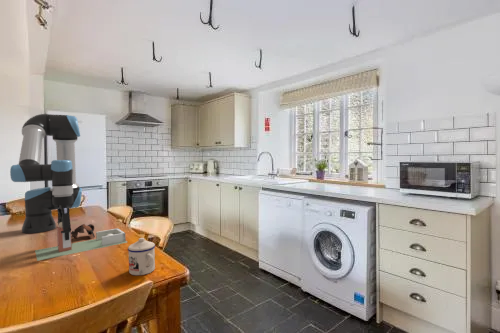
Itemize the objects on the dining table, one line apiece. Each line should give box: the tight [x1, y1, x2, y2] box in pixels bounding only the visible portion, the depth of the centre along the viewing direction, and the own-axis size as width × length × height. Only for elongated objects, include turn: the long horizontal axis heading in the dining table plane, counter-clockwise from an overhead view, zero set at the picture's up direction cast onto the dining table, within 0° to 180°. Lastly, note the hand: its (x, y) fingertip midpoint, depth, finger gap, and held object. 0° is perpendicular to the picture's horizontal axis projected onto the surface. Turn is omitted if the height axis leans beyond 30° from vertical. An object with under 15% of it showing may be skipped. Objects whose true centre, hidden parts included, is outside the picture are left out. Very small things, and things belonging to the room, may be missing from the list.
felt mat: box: [34, 238, 128, 262], centre depth 125 cm, size 16×34×1 cm, turn 131°
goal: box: [95, 228, 127, 246], centre depth 132 cm, size 12×10×4 cm
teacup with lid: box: [127, 237, 156, 276], centre depth 97 cm, size 12×9×12 cm
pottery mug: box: [71, 223, 96, 240], centre depth 138 cm, size 12×10×8 cm
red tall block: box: [56, 222, 72, 252], centre depth 120 cm, size 4×4×12 cm
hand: (64, 243), depth 120 cm, fingers open, 13 cm apart
